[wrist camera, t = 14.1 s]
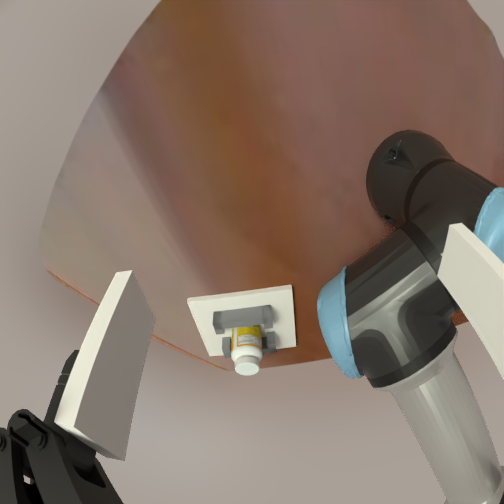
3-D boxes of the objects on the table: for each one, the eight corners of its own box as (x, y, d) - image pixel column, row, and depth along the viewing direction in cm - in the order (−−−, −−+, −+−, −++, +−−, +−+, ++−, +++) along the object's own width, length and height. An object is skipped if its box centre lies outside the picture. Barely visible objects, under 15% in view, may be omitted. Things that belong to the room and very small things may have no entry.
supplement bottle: (245, 312, 50) (246, 356, 42) (266, 326, 52) (270, 368, 44) (225, 327, 52) (224, 369, 44) (246, 339, 54) (247, 380, 46)
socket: (291, 284, 48) (294, 300, 45) (295, 342, 57) (298, 357, 54) (187, 298, 49) (184, 314, 46) (210, 352, 58) (208, 367, 55)
